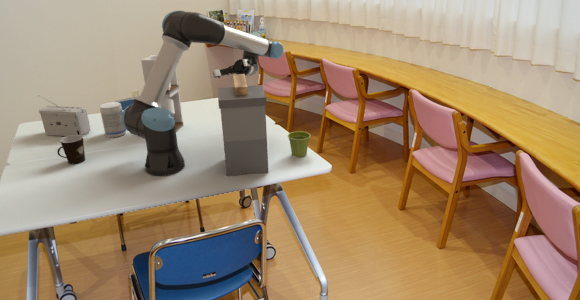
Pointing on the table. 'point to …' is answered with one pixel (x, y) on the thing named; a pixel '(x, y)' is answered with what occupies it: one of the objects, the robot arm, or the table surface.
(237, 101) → the grey box
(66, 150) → the coffee mug
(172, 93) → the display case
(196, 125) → the table surface
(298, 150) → the plant pot
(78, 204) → the table surface
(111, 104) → the supplement tub
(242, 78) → the oak slat
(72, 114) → the stereo radio cassette player
